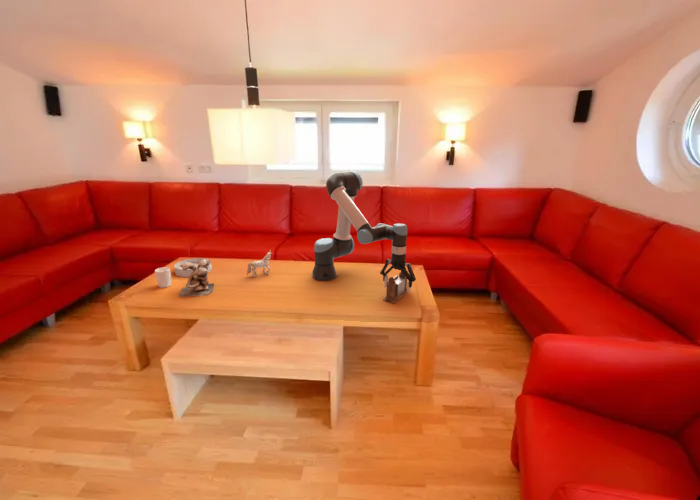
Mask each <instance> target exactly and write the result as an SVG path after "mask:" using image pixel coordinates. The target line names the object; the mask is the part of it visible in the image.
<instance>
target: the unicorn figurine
mask: <svg viewBox="0 0 700 500" xmlns="http://www.w3.org/2000/svg"><path fill="white" fill-rule="evenodd" d="M271 251H272V250H271V249H270V250H269V251H268V252H267V253H266V255H265V256H264V257H263V258H261V259H260V260H254V261H253V262H252V261H251V262H248V264H247V269H246V275H247V276H248V274H250V273H252V274H251V276H252V277H253V278H257V269H258V268H261V269H262V268H263V269H262V271H261V272H262V274H266V275H269V274H270V271H271V267H270V266H269V264H270V261H269V260H270V259H271V257H272V253H273V252H271ZM266 269H268V270H266ZM265 270H266V271H265Z"/></svg>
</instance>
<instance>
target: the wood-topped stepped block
mask: <svg viewBox="0 0 700 500" xmlns="http://www.w3.org/2000/svg"><path fill="white" fill-rule="evenodd" d="M393 278H394V281H395V282H396V288H395V298H398V297H399V296H400V295H401V294H403V293H404V286H405V279H403V278H399V274H396V275H395V276H393Z"/></svg>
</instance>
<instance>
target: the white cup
mask: <svg viewBox="0 0 700 500" xmlns="http://www.w3.org/2000/svg"><path fill="white" fill-rule="evenodd" d="M154 273H155V274H154V275H155V278H156V283H157V286H158V288H160V289H161V288H163V289H164V288H168V287H170V286H172V274H171V268H170V267H167V266H164V267H163V266H162V267H158V268H156V269H155V270H154Z"/></svg>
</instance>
